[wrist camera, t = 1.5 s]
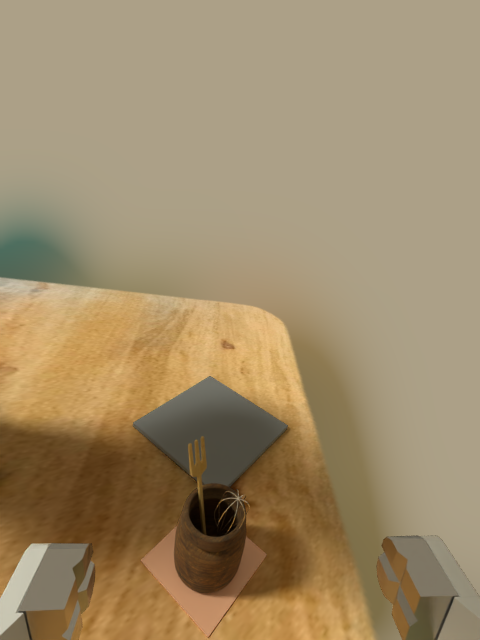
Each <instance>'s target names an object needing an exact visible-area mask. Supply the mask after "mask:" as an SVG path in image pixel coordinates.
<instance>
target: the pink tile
mask: <svg viewBox="0 0 480 640" xmlns="http://www.w3.org/2000/svg"><path fill="white" fill-rule="evenodd" d="M176 528H177V526H176V527H175V528H173V529H172V530H171V531H170V532H169V533H168V534H167V535H166V536H165V537H164V538H163V539H162V540H161V541H160V542H159V543H158V544H157V545H156V546H155V547H154V548H153V549H152V550H151V551H150V552H149V553H148V554H147V555H146V556H145V557H143V558H142V559H141V562H142V563H143V564H144V565H145V567H146V568H147V569H148V570H149V571H150V572H151V573H152V575H153V576H154V577H155V578H156V579H157V580H158V581H159V582H160V584H161V585H162V586H163V587H164V588H165V589H166V590H167V592H168V593H169V594H170V595H171V596H172V597H173V598H174V600H175V601H176V602H177V603H178V604H179V605H180V606H181V608H182V609H183V610H184V611H185V612H186V613H187V614H188V616H189V617H190V618H191V619H192V620H193V621H194V622H195V624H196V625H197V626H198V627H199V628H200V629H201V630H202V632H203V633H204V634H205V635H206V636H207V637H209V636H210V634H211V633H212V631H213V630H214V629H215V627H216V626H217V624H218V623H219V622H220V620H221V619H222V617H223V616H224V615H225V613H226V612H227V610H228V609H229V608H230V606H231V605H232V603H233V602H234V601H235V599H236V598H237V596H238V595H239V594H240V592H241V591H242V589H243V588H244V587H245V585H246V584H247V582H248V581H249V580H250V578H251V577H252V575H253V574H254V573H255V571H256V570H257V568H258V567H259V566H260V564H261V563H262V561H263V560H264V559H265V557H266V556H267V554H266V553H265V552H264V551H262V550H261V549H260V548H259V547H258V546H257V545H256V544H254V543H253V542H252V541H251V540H250V539H249V538H248V537H247V536H246V541H245V546H244V550H243V554H242V558H241V562H240V565H239V568H238V571H237V573H236V575H235V576H234V578H233V579H232V581H231V582H230V583H229V584H228V585H227V586H226V587H224V588H223V589H221V590H219V591H217V592H214V593H208V594H205V593H199V592H196V591H193V590H191V589H190V588H188V587H187V586H186V585H185V584H184V583H183V582H182V581H181V579H180V578H179V576H178V574H177V571H176V568H175V563H174V545H175V535H176Z"/></svg>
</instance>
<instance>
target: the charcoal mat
mask: <svg viewBox="0 0 480 640" xmlns="http://www.w3.org/2000/svg"><path fill="white" fill-rule="evenodd" d="M133 427H134V428H136V429H137V430H138V431H139V432H140V433H141V434H143V435H144V436H145V437H146V438H147V439H148V440H150V441H151V442H152V443H153V444H154V445H155V446H157V447H158V448H159V449H160V450H161V451H162V452H164V453H165V454H166V455H167V456H168V457H169V458H170V459H172V460H173V461H174V462H175V463H176V464H177V465H179V466H180V467H181V468H182V469H183V470H184V471H186V472H187V473H188V474H189V475H190V467H189V453H188V444H189V443H191V444H192V451H193V460H194V465H195V463H196V460H195V444H194V441H195V440H196V439H197V440H198V445H199V455H200V461H201V460H202V456H201V437H202V436H203V437H204V441H205V451H206V462H207V468H206V469H205V471H204V472H203V474H202V476H201V477H202V485H205V484H209V483H218V484H223V485H226V486H228V487H230V486H231V485H232V484H233V483H234V482H235V481H236V480H237V479H238V478H239V477H240V476H241V475H242V474H243V473H244V472H245V471H246V470H247V469H248V468H249V467H250V466H251V465H252V464H253V463H254V462H255V461H256V460H257V459H258V458H259V457H260V456H261V455H262V454H263V453H264V452H265V451H266V450H267V449H268V448H269V447H270V446H271V445H272V444H273V443H274V442H275V441H276V440H277V439H278V438H279V437H280V436H281V435H282V434H283V433H284V432H285V431H286V430H287V427H288V425H286V424H285V423H283V422H281V421H280V420H278V419H277V418H275V417H274V416H272V415H270V414H269V413H267V412H266V411H264V410H263V409H261V408H260V407H258V406H256V405H255V404H253V403H252V402H250V401H249V400H247V399H245V398H244V397H242V396H241V395H239V394H238V393H236V392H235V391H233V390H231V389H230V388H228V387H227V386H225V385H224V384H222V383H220V382H219V381H217V380H216V379H214V378H213V377H211V376H209V377H207V378H206V379H204V380H203V381H201V382H199V383H198V384H196V385H194V386H193V387H191V388H189V389H188V390H186V391H184V392H183V393H181V394H180V395H178V396H176V397H175V398H173V399H171V400H170V401H168V402H166V403H165V404H163V405H161V406H160V407H158V408H157V409H155V410H153V411H152V412H150V413H148V414H147V415H145V416H143V417H142V418H140V419H138V420H137V421H135V422H133ZM190 476H191V475H190ZM191 477H192V476H191ZM193 478H194V479H195V480H196V481H197V477H193Z"/></svg>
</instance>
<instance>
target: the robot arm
mask: <svg viewBox="0 0 480 640" xmlns="http://www.w3.org/2000/svg"><path fill="white" fill-rule="evenodd" d="M382 548H383V550H384V553H383V554H381V555H380V556H379V557H378V562H377V577H378V581H379V584H380V587H381V590H382V592H383V595H384V596H385V597H386V598H387V599H388V600H389V601H390V602H391V603H392V604H393V609H392V616H393V619H394V621H395V623H396V625H397V628H398V630H399V633H400V635H401V637H402V640H480V596H479V595H478V593H477V592H476V590H475V589H474V587H473V586H472V584H471V583H470V581H469V580H468V578H467V577H466V575H465V574H464V572H463V571H462V569H461V568H460V566H459V565H458V563H457V561H456V560H455V558H454V557H453V555H452V554H451V553H450V551H449V549H448V548H447V546H446V545H445V543H444V542H443V540H442V539H441V538H440V537H438V536H396V537H395V536H394V537H386V538H385V539H384V540H383V543H382ZM92 554H93V548H92V544H73V543H40V544H31V545H30V546H29V547H28V548H27V549H26V550H25V552H24V554H23V556H22V558H21V560H20V562H19V564H18V566H17V568H16V570H15V571H14V573H13V575H12V577H11V579H10V581H9V583H8V585H7V587H6V589H5V591H4V593H3V594H2V596H1V598H0V640H79V637H80V634H81V630H82V627H83V626H82V618H81V614H82V613H83V612H84V611H85V610H86V609H87V608H88V607H89V603H90V600H91V596H92V592H93V587H94V581H95V564H94V563H93V562H91V561H90V560H91V557H92Z"/></svg>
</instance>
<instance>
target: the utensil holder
mask: <svg viewBox="0 0 480 640" xmlns="http://www.w3.org/2000/svg"><path fill="white" fill-rule="evenodd" d="M194 444H195V460H196V463H195V465H194V460H193V451H192V444H191V443H189V444H188V453H189V467H190V475H191V476H192V477H197V485H198V488H196V489H195V490H194V491H193V492H192V493H191V494H190V495H189V496H188V498H187V500H186V502H185V504H184V507H183V510H182V513H181V515H180V518H179V520H178V523H177V528H176V535H175V545H174V563H175V568H176V571H177V574H178V576H179V578H180V579H181V581H182V582H183V583H184V584H185V585H186V586H187V587H188V588H190V589H191V590H193V591H196V592H199V593H205V594H208V593H214V592H217V591H219V590H221V589H223V588H224V587H226V586H227V585H228V584H229V583H230V582H231V581H232V579H233V578H234V576H235V575H236V573H237V571H238V568H239V565H240V562H241V558H242V554H243V550H244V546H245V541H246V515H247V513H248V511H249V509H248V511H247V513H246V510H245V506H244V503H243V501H244V500H243V501H242V499H241V497H242V496H244V495H242V496H241V497H240V496H239V493H237V492H236V490H237V489H236V490H235V491H234V490H233V489H232V488H230V487H228V486H226V485H223V484H218V483H209V484H205V485H202V477H201V476H202V474H203V472H204V471H205V469H206V468H207V462H206V451H205V441H204V437H203V436H202V437H201V456H202V460H201V461H200V455H199V445H198V440H197V439H196V440H195V441H194ZM237 491H238V490H237ZM245 497H246V495H245ZM244 499H245V498H244ZM245 502H246V501H245ZM246 503H247V502H246ZM247 504H248V503H247ZM248 505H249V504H248ZM249 508H250V506H249Z"/></svg>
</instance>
